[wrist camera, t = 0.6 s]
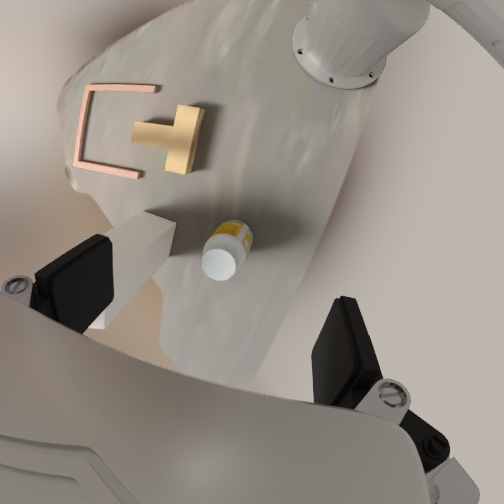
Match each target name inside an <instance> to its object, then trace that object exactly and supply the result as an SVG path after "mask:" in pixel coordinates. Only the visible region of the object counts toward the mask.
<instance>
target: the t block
mask: <svg viewBox="0 0 504 504" xmlns="http://www.w3.org/2000/svg"><path fill="white" fill-rule="evenodd" d="M204 113H205V110H204V109H201V108H197V107H190V106H183V105H178V108H177V112H176V117H175V121H174V126H170V125H163V124H156V123H148V122H135V124H134V129H133V135H132V141H131V142H133V143H139V144H145V145H151V146H157V147H163V148H168V149H169V150H168V155H167V160H166V166H165V170H166V171H170V172H175V173H179V174H184V175H186V174H188V173H191V171H192V166H193V162H194V157H195V152H196V148H197V143H198V139H199V134H200V130H201V126H202V121H203V117H204Z"/></svg>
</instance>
